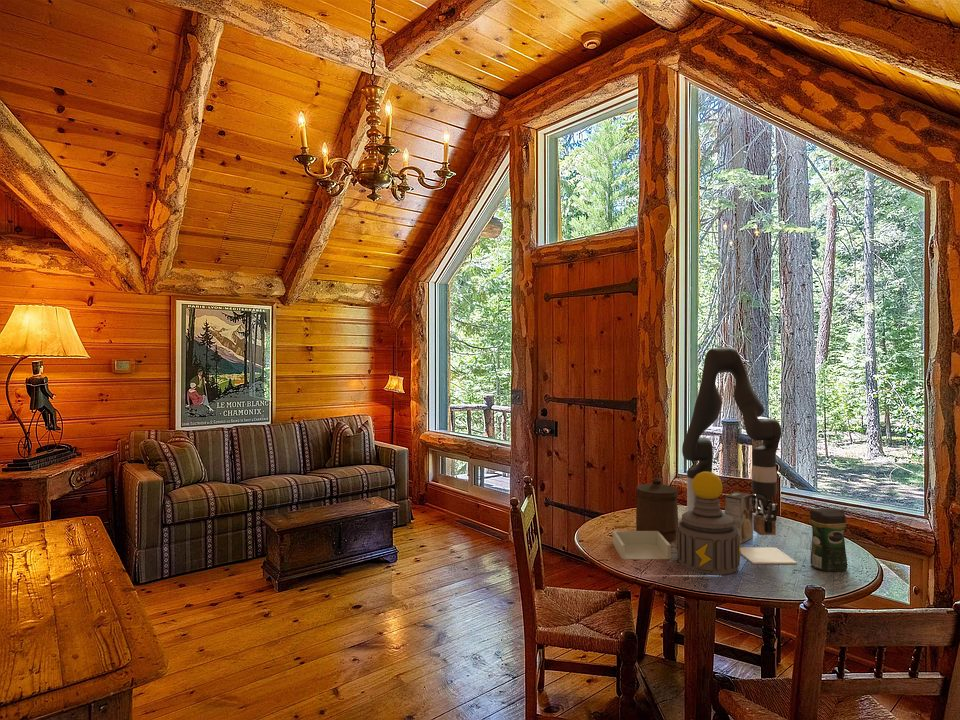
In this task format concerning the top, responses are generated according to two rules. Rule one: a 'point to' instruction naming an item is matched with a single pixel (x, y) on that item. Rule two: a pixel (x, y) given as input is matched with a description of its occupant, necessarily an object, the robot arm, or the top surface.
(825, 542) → the coffee jar
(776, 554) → the mat
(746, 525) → the coffee box
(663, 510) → the wooden container
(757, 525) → the walnut block
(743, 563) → the top surface
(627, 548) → the open box
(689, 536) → the decorative lamp
